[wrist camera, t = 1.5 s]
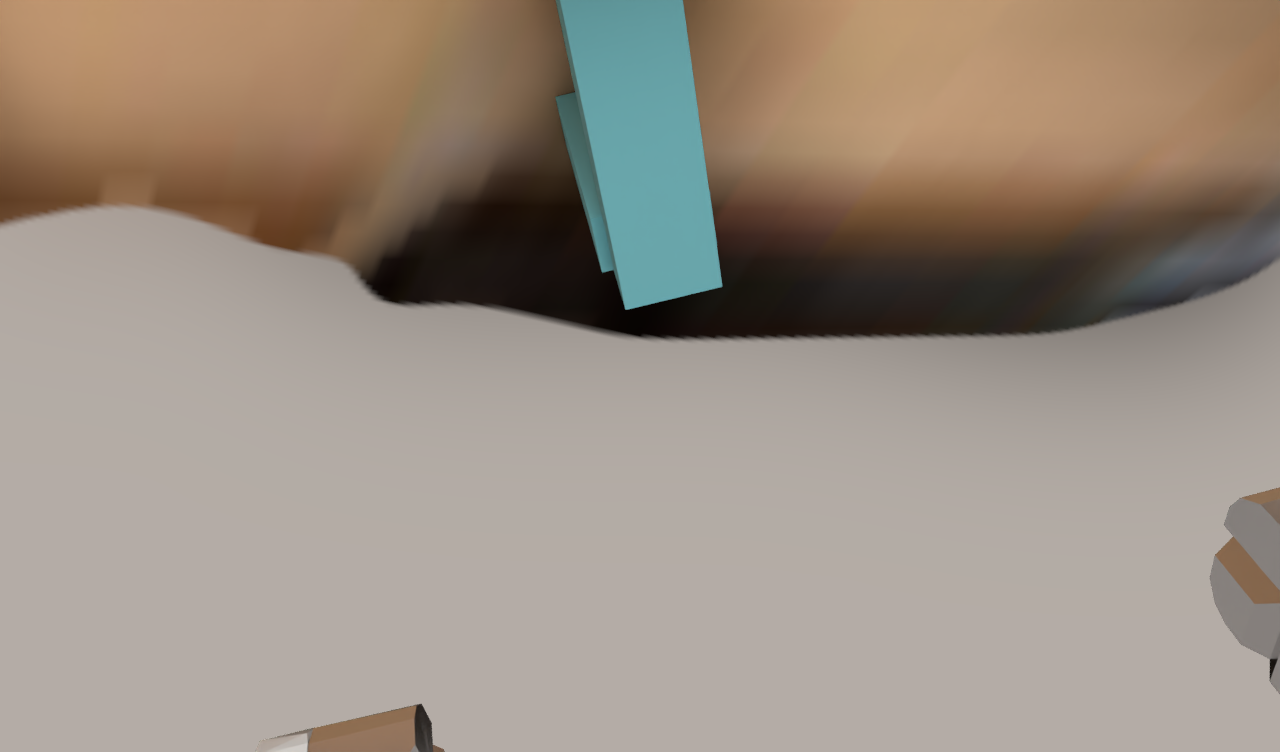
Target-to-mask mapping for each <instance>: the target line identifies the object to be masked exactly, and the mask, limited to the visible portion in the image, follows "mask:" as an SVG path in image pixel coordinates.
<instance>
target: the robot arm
mask: <svg viewBox="0 0 1280 752" xmlns="http://www.w3.org/2000/svg"><path fill="white" fill-rule="evenodd" d="M1224 525H1225V527H1226V528H1227V529H1228V530H1229V531H1230V533H1231V534H1232V535H1233V537H1232V538H1231V539H1230V541H1229V542H1228V543H1227V544H1226V545H1225V546H1224V547H1223V548H1222V549H1221V550H1220V551H1219V552H1218V553H1217V554H1216V555H1215V557H1214V562H1213V566H1212V570H1211V575H1210V581H1211V586H1212V591H1213V596H1214V600H1215V604H1216V606H1217V608H1218V610H1219V612H1220V614H1221V616H1222V618H1223V620H1224V622H1225V624H1226V625H1227V626H1228V628H1229V629H1230V631H1231V632H1232V633H1233V635H1234V636H1235V637H1236V639H1237V640H1238V641H1239V643H1240V644H1241V645H1243V646H1245V647H1247V648H1250V649H1251V650H1253V651H1255V652H1257V653H1259V654H1261V655H1263V656H1265V657H1267V658H1269V659H1270V682H1271V684H1272V685H1273V686H1274V687H1275V689H1276V690H1277V691H1278V692H1279V694H1280V488H1276V489H1272V490H1269V491H1265V492H1261V493H1257V494H1254V495H1250V496H1246V497H1242V498H1240V499H1239V500H1237V501H1236V502H1235V503H1234V504H1233V505H1232V506H1230V508H1229V511H1228V514H1227V517H1226V520H1225V523H1224ZM255 752H445V751H444V749H442V748H439V747H437V746H435V745H433V739H432V723H431V721H430V719H429V717H428V715H427V713H426V711H425V709H424V707H423V706H422V704H417V705H413V706H409V707H404V708H400V709H395V710H391V711H387V712H382V713H378V714H373V715H369V716H365V717H361V718H356V719H352V720H347V721H343V722H339V723H334V724H330V725H326V726H321V727H317V728H311V729H307V730H303V731H299V732H295V733H290V734H287V735H283V736H278V737H275V738H270V739H266V740H262V741H259V744H258V746H257V749H256V751H255Z"/></svg>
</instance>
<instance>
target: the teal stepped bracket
mask: <svg viewBox="0 0 1280 752" xmlns="http://www.w3.org/2000/svg"><path fill="white" fill-rule="evenodd" d="M556 5H557V9H558V14H559V19H560V23H561V28H562V33H563V37H564V42H565V47H566V51H567V56H568V61H569V65H570V70H571V75H572V79H573V84H574V89H575V92H574V93H570V94H566V95H561V96H557V97H555V98H556V102H557V107H558V111H559V115H560V120H561V124H562V129H563V133H564V137H565V142H566V146H567V149H568V153H569V157H570V160H571V164H572V167H573V171H574V174H575V178H576V181H577V185H578V189H579V192H580V196H581V199H582V203H583V206H584V210H585V213H586V217H587V221H588V224H589V228H590V231H591V235H592V238H593V242H594V245H595V249H596V253H597V256H598V260H599V263H600V267H601V270H602V273H603V272H607V271H611V270H614V273H615V276H616V279H617V283H618V286H619V289H620V293H621V296H622V300H623V303H624V306H625V310H628V309H632V308H636V307H640V306H644V305H648V304H653V303H657V302H661V301H665V300H669V299H673V298H677V297H682V296H686V295H690V294H694V293H698V292H702V291H706V290H711V289H715V288H719V287H722V281H721V274H720V266H719V259H718V252H717V242H716V234H715V227H714V220H713V213H712V205H711V198H710V191H709V187H708V179H707V172H706V165H705V158H704V150H703V143H702V136H701V129H700V121H699V114H698V107H697V100H696V92H695V85H694V78H693V71H692V63H691V56H690V49H689V42H688V34H687V27H686V20H685V13H684V5H683V0H556Z"/></svg>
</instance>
